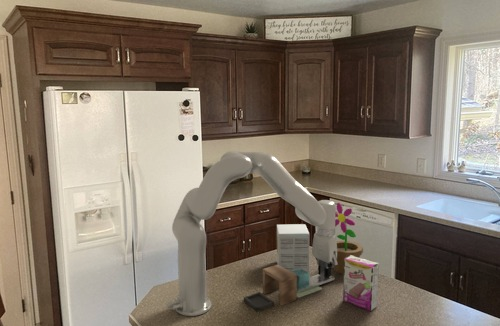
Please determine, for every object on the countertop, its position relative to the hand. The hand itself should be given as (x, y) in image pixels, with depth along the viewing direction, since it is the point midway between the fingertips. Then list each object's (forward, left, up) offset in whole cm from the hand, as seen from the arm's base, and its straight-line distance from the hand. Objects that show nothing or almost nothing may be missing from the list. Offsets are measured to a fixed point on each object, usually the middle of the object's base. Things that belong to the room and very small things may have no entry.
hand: (324, 275), depth 161 cm
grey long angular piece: (-7, 0, -2) cm, 7 cm away
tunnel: (-23, 0, -2) cm, 23 cm away
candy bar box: (-3, -21, -3) cm, 21 cm away
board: (-12, 0, -2) cm, 12 cm away
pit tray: (-32, 0, -2) cm, 32 cm away
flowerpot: (+15, +3, -3) cm, 16 cm away
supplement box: (-2, +18, -3) cm, 18 cm away
